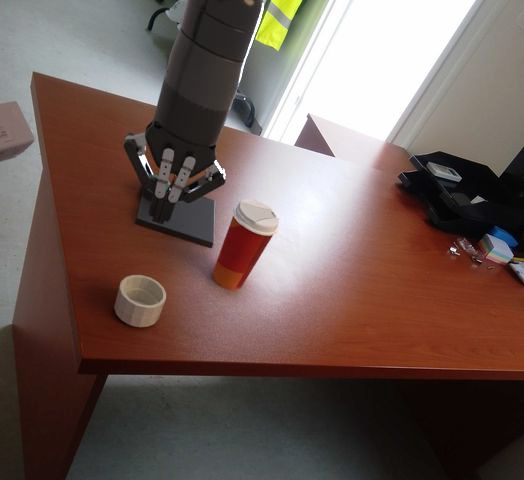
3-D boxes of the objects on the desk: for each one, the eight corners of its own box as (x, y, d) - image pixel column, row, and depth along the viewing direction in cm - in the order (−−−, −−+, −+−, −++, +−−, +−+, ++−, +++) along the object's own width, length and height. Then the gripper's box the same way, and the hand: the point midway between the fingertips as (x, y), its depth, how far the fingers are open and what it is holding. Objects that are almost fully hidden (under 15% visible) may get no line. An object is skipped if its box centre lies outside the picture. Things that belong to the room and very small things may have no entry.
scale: (131, 222, 79) (135, 208, 77) (142, 180, 89) (145, 166, 87) (211, 248, 84) (217, 235, 82) (213, 205, 94) (218, 192, 92)
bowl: (110, 322, 62) (116, 299, 59) (117, 292, 67) (123, 269, 64) (155, 334, 65) (164, 312, 62) (160, 304, 69) (167, 282, 66)
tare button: (148, 189, 83) (151, 181, 82) (150, 180, 85) (153, 172, 84) (166, 195, 84) (168, 187, 83) (167, 186, 86) (170, 178, 85)
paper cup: (236, 263, 84) (267, 199, 74) (255, 293, 80) (290, 229, 71) (199, 263, 79) (227, 194, 70) (216, 295, 76) (249, 227, 66)
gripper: (134, 73, 44) (102, 219, 56) (258, 127, 49) (205, 251, 60) (141, 49, 49) (110, 188, 61) (253, 100, 54) (205, 219, 65)
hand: (158, 219), depth 61 cm, fingers closed
